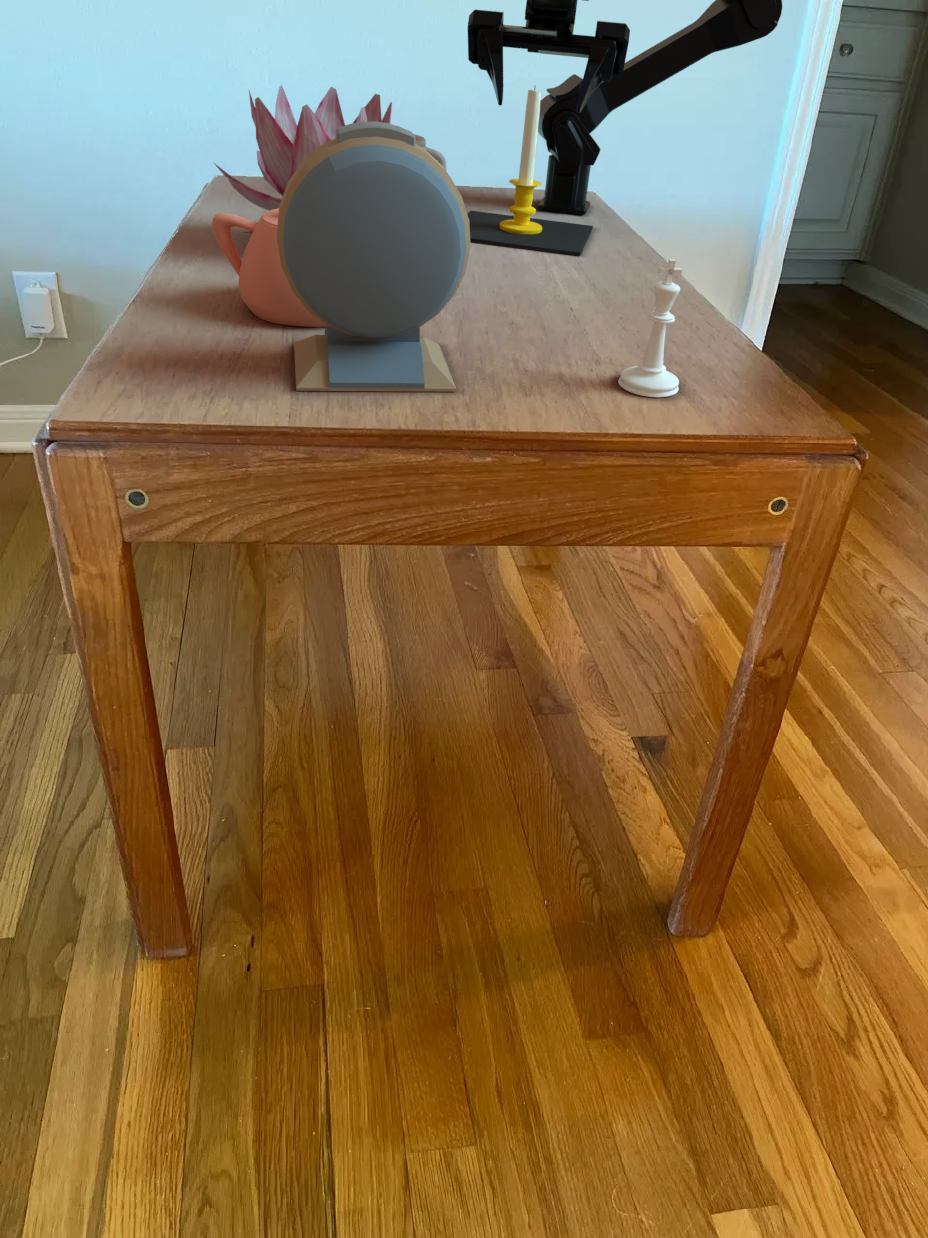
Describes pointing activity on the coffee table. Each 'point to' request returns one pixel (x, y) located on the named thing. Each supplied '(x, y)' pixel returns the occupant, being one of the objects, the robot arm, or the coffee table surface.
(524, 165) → the candle
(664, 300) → the chess piece
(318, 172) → the alarm clock
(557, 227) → the mat
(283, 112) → the decorative flower
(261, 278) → the teapot
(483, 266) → the coffee table surface
